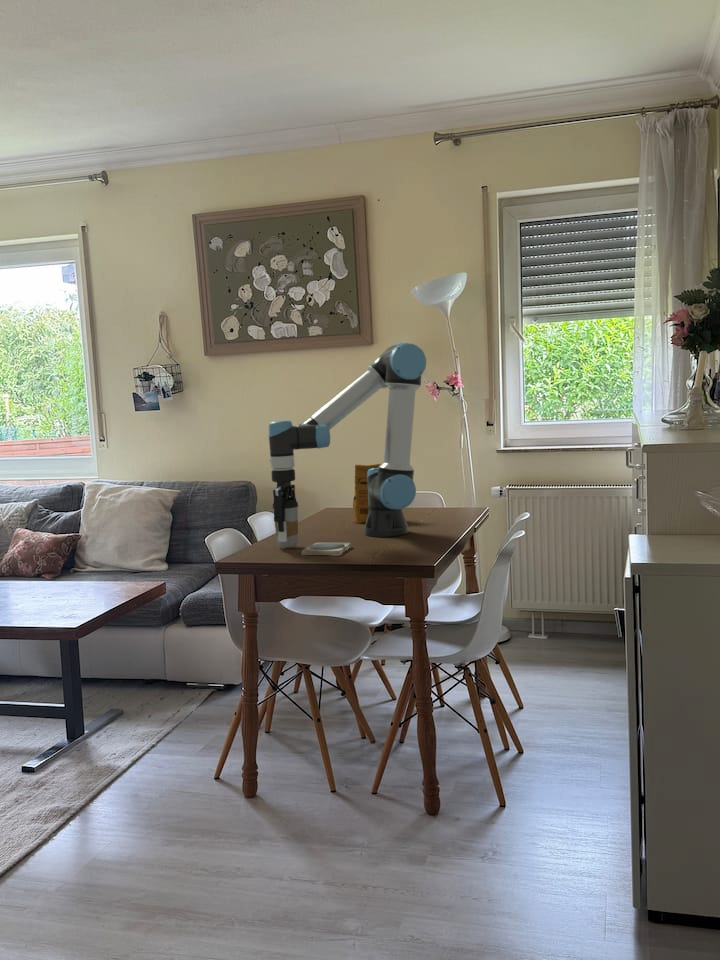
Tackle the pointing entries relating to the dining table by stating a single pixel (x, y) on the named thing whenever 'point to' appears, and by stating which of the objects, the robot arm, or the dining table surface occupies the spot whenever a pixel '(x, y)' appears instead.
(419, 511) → the dining table surface
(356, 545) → the dining table surface
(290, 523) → the coffee cup
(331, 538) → the dining table surface
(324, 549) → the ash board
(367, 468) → the coffee package
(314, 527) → the dining table surface
